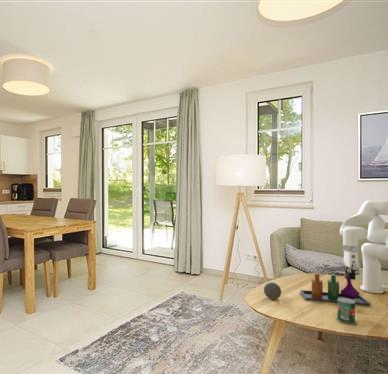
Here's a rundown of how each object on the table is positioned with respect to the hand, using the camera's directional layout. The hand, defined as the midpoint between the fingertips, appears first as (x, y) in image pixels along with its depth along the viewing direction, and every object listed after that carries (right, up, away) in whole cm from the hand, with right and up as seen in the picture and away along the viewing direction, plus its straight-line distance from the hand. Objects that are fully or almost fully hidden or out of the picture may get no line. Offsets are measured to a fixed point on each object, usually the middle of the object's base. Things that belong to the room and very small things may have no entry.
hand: (350, 277), depth 185 cm
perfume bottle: (0, -13, +1) cm, 13 cm away
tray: (-9, -15, +3) cm, 17 cm away
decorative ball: (-45, -15, +5) cm, 48 cm away
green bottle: (-9, -14, +3) cm, 17 cm away
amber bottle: (-17, -14, +5) cm, 23 cm away
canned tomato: (-20, -16, -25) cm, 36 cm away
